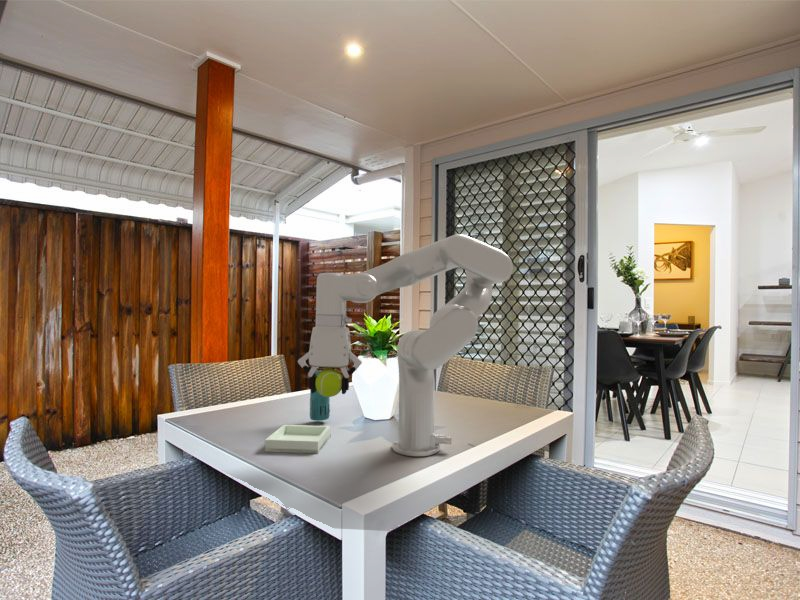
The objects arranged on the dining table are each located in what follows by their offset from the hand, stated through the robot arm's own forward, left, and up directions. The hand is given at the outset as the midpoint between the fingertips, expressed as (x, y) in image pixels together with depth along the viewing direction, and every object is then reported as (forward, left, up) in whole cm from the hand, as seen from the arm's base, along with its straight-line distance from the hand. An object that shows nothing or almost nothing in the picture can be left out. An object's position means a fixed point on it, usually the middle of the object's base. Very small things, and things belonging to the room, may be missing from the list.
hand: (329, 392), depth 108 cm
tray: (+10, -9, -16) cm, 21 cm away
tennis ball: (0, 0, -1) cm, 1 cm away
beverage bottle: (+10, -30, -16) cm, 36 cm away
